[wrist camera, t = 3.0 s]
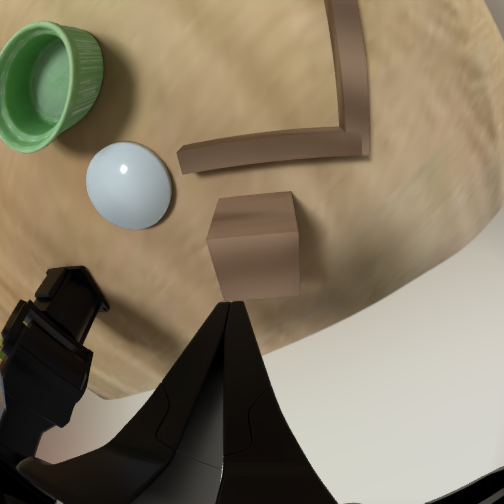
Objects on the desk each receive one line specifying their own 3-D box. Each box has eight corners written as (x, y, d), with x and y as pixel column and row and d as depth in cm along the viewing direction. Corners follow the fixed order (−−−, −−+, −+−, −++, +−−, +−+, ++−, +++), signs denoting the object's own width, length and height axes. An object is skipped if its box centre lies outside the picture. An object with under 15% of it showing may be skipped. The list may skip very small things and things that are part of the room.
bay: (361, 147, 16) (369, 155, 15) (188, 166, 17) (182, 174, 16) (326, -75, 5) (331, -84, 4) (144, -50, 7) (135, -56, 6)
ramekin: (92, -1, 9) (53, -7, 6) (130, 96, 14) (94, 108, 11) (16, 69, 11) (-21, 80, 8) (49, 152, 16) (15, 175, 13)
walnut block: (294, 248, 21) (300, 296, 17) (231, 253, 22) (224, 300, 18) (290, 190, 18) (298, 231, 14) (219, 198, 19) (206, 239, 15)
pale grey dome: (183, 219, 20) (181, 223, 19) (109, 230, 21) (106, 234, 20) (156, 129, 16) (153, 131, 15) (78, 155, 16) (74, 158, 16)
